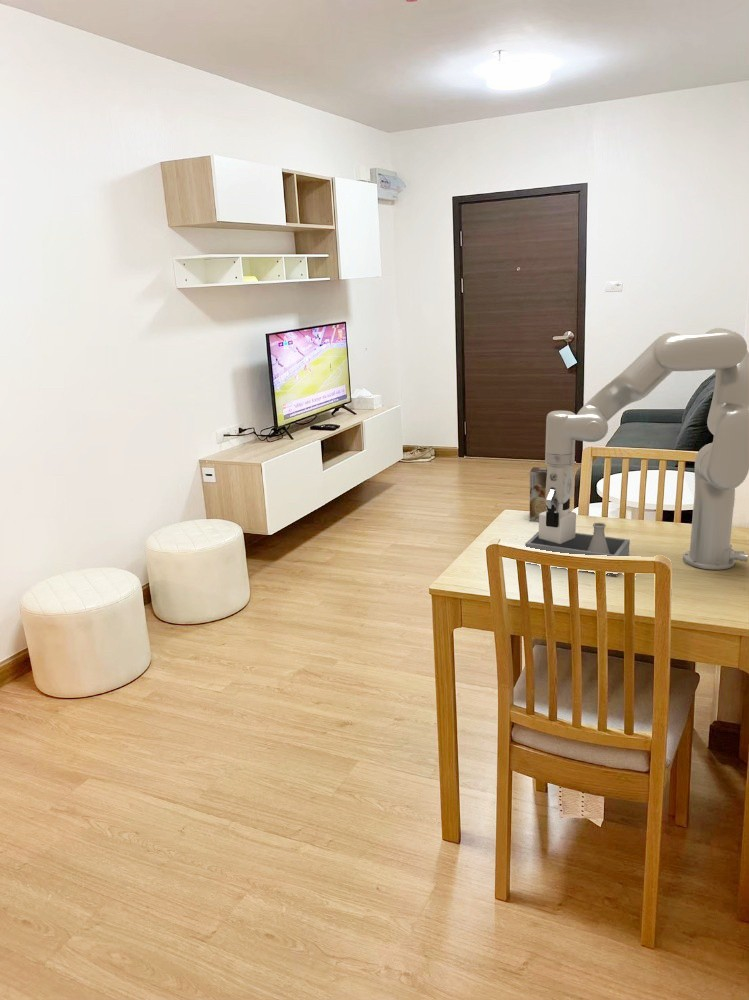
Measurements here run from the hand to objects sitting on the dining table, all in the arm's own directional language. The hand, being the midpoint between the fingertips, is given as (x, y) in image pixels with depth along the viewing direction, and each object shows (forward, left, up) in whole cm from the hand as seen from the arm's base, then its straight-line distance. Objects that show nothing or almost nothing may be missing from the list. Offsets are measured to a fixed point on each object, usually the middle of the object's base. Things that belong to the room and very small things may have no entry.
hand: (557, 521), depth 209 cm
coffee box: (+13, -32, -11) cm, 36 cm away
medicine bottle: (0, 0, -5) cm, 5 cm away
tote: (-6, 0, -10) cm, 12 cm away
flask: (-11, 0, -10) cm, 15 cm away
